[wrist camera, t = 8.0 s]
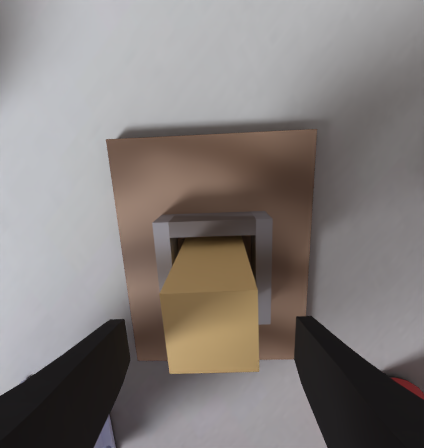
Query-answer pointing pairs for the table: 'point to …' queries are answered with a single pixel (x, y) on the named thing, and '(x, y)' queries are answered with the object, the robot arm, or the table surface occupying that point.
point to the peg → (211, 308)
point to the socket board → (216, 220)
